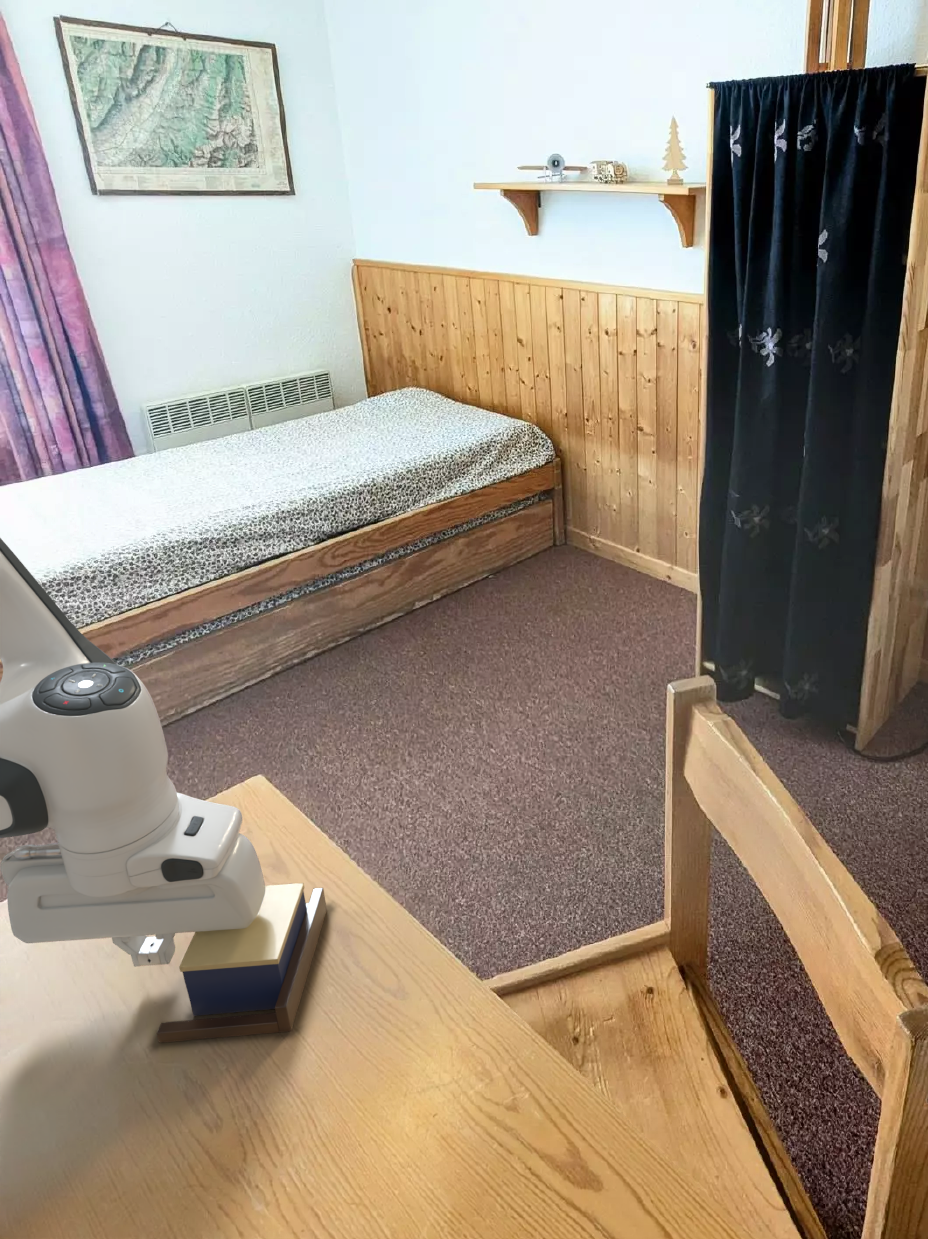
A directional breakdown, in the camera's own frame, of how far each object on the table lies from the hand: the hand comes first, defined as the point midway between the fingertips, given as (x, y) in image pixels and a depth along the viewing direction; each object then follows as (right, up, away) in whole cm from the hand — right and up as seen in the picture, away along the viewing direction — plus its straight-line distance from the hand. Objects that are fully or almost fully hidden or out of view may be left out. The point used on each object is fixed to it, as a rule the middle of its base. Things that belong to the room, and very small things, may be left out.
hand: (155, 959), depth 75 cm
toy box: (+8, -2, +2) cm, 9 cm away
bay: (+7, -2, +2) cm, 8 cm away
